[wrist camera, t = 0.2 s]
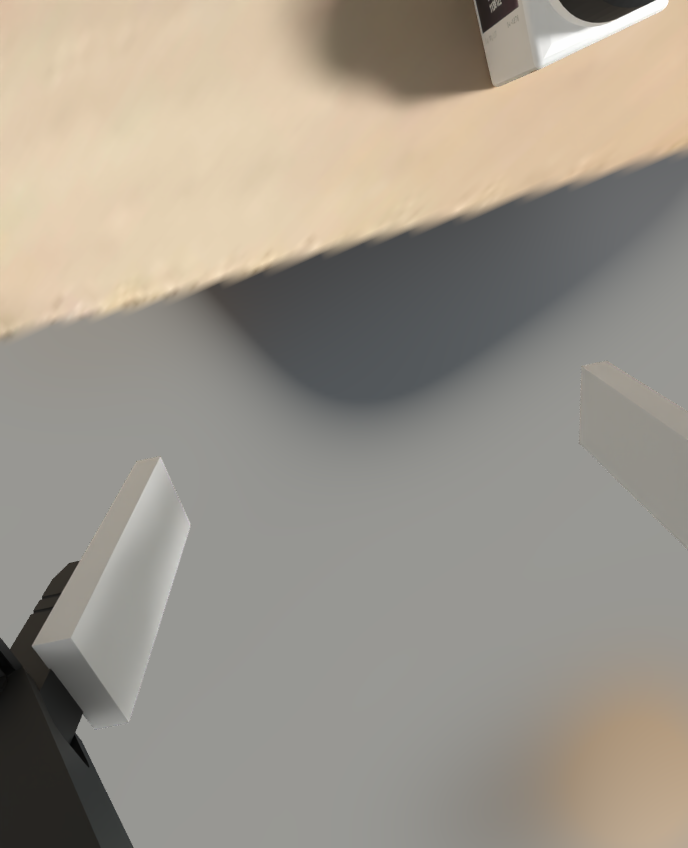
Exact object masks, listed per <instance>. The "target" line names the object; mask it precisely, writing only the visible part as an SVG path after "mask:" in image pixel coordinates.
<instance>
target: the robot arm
mask: <svg viewBox="0 0 688 848" xmlns="http://www.w3.org/2000/svg"><path fill="white" fill-rule="evenodd" d="M580 396H581V397H580V424H579V444H580V445H581V446H582V447H583V448H584V449H585V450H586V451H587V452H588V453H590V455H591V456H592V457H593V458H594V459H596V460H597V462H599V463H600V464H601V465H602V466H603V467H604V468H605V469H606V470H607V471H608V472H609V473H610V474H611V475H612V476H613V477H614V478H615V479H616V480H617V481H618V482H619V483H620V484H621V485H622V486H623V487H624V488H625V489H626V490H627V491H628V492H629V493H630V494H631V495H632V496H633V497H634V498H635V499H636V500H637V501H638V502H639V503H640V504H641V505H642V506H643V507H644V508H645V509H646V510H648V512H649V513H650V514H651V515H653V516H654V517H655V518H656V519H657V520H658V521H659V522H660V523H661V524H662V525H663V526H664V527H665V528H666V529H667V530H668V531H669V532H670V533H671V534H672V535H673V536H674V537H675V538H676V539H677V540H678V541H679V542H680V543H681V544H682V545H683V546H684V547H685V548H686V549H687V550H688V411H686V410H685V409H683V408H681V407H680V406H678V405H677V404H675V403H674V402H672V401H670V400H669V399H667V398H666V397H664V396H662V395H661V394H659V393H657V392H656V391H654V390H653V389H651V388H649V387H648V386H646V385H645V384H643V383H641V382H640V381H638V380H637V379H635V378H633V377H632V376H630V375H628V374H627V373H625V372H624V371H622V370H621V369H619V368H617V367H616V366H614V365H613V364H611V363H609V362H608V361H603V362H598V363H593V364H589V365H584V366H581V393H580ZM190 526H191V524H190V522H189V519H188V517H187V515H186V513H185V510H184V508H183V506H182V504H181V502H180V499H179V497H178V495H177V492H176V490H175V488H174V486H173V483H172V481H171V479H170V477H169V474H168V472H167V470H166V468H165V465H164V463H163V461H162V458H161V456H159V457H154V458H150V459H145V460H140V461H136V463H135V465H134V466H133V468H132V470H131V472H130V473H129V475H128V477H127V479H126V480H125V482H124V484H123V486H122V488H121V489H120V491H119V493H118V495H117V496H116V498H115V500H114V502H113V504H112V505H111V507H110V509H109V511H108V513H107V514H106V516H105V518H104V519H103V521H102V523H101V525H100V526H99V528H98V530H97V532H96V534H95V535H94V537H93V539H92V540H91V542H90V544H89V546H88V548H87V549H86V551H85V553H84V555H83V556H82V558H81V560H80V561H77V562H72V563H69V564H68V565H67V566H66V567H65V568H64V569H63V570H62V571H61V572H60V573H59V574H58V575H57V576H56V577H55V578H53V579H52V581H51V583H50V584H49V586H48V588H47V589H46V591H45V592H44V594H43V596H42V600H40V601H39V602H38V604H37V606H36V607H35V609H34V614H31V615H30V617H29V619H28V620H27V622H26V624H25V625H24V627H23V629H22V630H21V632H20V633H19V635H18V637H17V638H16V640H15V642H14V643H13V645H12V647H11V649H9V648H8V647H7V645H6V644H5V643H4V642H3V640H2V639H1V638H0V848H133V846H132V844H131V841H130V839H129V837H128V835H127V833H126V831H125V829H124V827H123V825H122V823H121V821H120V819H119V817H118V815H117V813H116V811H115V809H114V807H113V804H112V802H111V800H110V798H109V796H108V794H107V792H106V790H105V788H104V786H103V784H102V782H101V780H100V778H99V776H98V774H97V772H96V769H95V767H94V765H93V763H92V761H91V759H90V757H89V755H88V753H87V751H86V749H85V747H84V745H83V743H82V741H81V740H80V738H79V737H78V736H77V734H76V733H75V731H76V729H77V726H78V724H79V722H80V719H81V716H82V714H83V715H84V716H85V718H86V719H87V720H88V722H89V723H90V724H91V726H92V727H93V728H94V730H97V729H102V728H106V727H112V726H117V725H122V724H126V723H129V722H130V719H131V715H132V712H133V709H134V706H135V702H136V699H137V696H138V693H139V690H140V687H141V683H142V680H143V677H144V674H145V670H146V667H147V664H148V660H149V658H150V654H151V651H152V648H153V645H154V641H155V638H156V635H157V632H158V629H159V626H160V622H161V619H162V616H163V613H164V610H165V606H166V603H167V600H168V597H169V593H170V590H171V587H172V584H173V581H174V577H175V574H176V571H177V567H178V564H179V561H180V558H181V555H182V551H183V549H184V545H185V542H186V539H187V536H188V532H189V529H190Z"/></svg>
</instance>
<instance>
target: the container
mask: <svg viewBox="0 0 688 848" xmlns="http://www.w3.org/2000/svg"><path fill="white" fill-rule="evenodd" d="M473 1H474V5H475V10H476V14H477V19H478V23H479V27H480V32H481V36H482V41H483V45H484V50H485V54H486V58H487V63H488V67H489V72H490V76H491V81H492V84H493V86H495V87H499V86H502V85H504V84H506V83H509V82H511V81H513V80H516V79H518V78H520V77H523V76H525V75H527V74H530V73H532V72H534V71H537V70H539V69H541V68H543V67H546V66H548V65H550V64H552V63H554V62H556V61H558V60H560V59H562V58H564V57H566V56H569V55H571V54H573V53H575V52H577V51H579V50H581V49H583V48H585V47H587V46H589V45H592V44H594V43H596V42H598V41H600V40H602V39H604V38H606V37H608V36H610V35H612V34H615V33H617V32H619V31H621V30H623V29H625V28H627V27H629V26H631V25H633V24H636V23H638V22H640V21H642V20H644V19H646V18H648V17H650V16H652V15H654V14H656V13H659V12H661V11H662V10H663V9H664V8H665V7H666V6H667V4H668V0H473Z"/></svg>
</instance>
